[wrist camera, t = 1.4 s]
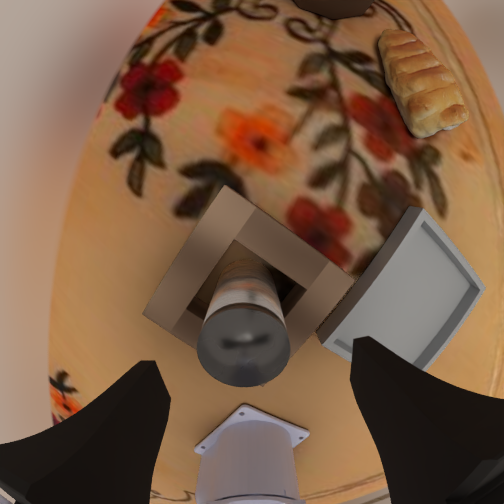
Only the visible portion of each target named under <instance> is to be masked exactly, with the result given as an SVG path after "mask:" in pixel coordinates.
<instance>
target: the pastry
mask: <svg viewBox="0 0 504 504" xmlns="http://www.w3.org/2000/svg"><path fill="white" fill-rule="evenodd" d="M378 47H379V51H380V54H381V57H382V61H383V66H384V70H385V81H386V84H387V85H388V86H389V87H390V89H391V92H392V95H393V97H394V99H395V101H396V104H397V107H398V109H399V111H400V113H401V116H402V118H403V120H404V122H405V124H406V125H407V127H408V129H409V131H410V132H411V133H412V134H413V136H415V137H417V138H424V137H428V136H431V135H434V134H435V133H436V132H437V131H440V130H442V129H444V130H451V129H452V128H455V127H457V126H459V125H460V124H461V123H463V122H465V121H467V120H468V118H469V112H468V110H467V109H466V108H465V105H464V102H463V99H462V96H461V93H460V90H459V88H458V86H457V85H456V83H455V80H454V77H453V75H452V73H451V72H450V71H449V70H448V69H447V68H446V67H445V66H444V65H443V64H442V63H441V62H440V61H439V60H438V59H437V58H436V57H435V56H434V55H433V53H432V51H431V50H430V49H429V48H428V47H427V46H426V45H424V43H423V42H422V41H420V40H419V39H418V38H416V37H415V36H414V35H413V34H411V33H409V32H406V31H401V30H391V29H386V30H384V31H383V32H382V35H381V37H380V39H379V42H378Z"/></svg>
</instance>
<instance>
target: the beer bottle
mask: <svg viewBox="0 0 504 504" xmlns="http://www.w3.org/2000/svg"><path fill="white" fill-rule="evenodd" d="M294 1H295V3H296V4H297V5H298V6H299V8H302V9H305V10H308V11H311V12H314V13H316V14H319V15H322V16H325V17H327V18H330V19H332V20H333V19H339V18H345V17H352V16H359V15H363V14H364V12H365V11H366V10H367V9H368V8H369V7H370V6H371V4H372V3H373V1H374V0H294Z"/></svg>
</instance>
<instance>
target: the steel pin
mask: <svg viewBox="0 0 504 504" xmlns="http://www.w3.org/2000/svg"><path fill="white" fill-rule="evenodd" d="M290 350H291V349H290V341H289V337H288V333H287V329H286V325H285V321H284V317H283V313H282V310H281V306H280V302H279V298H278V294H277V290H276V286H275V282H274V279H273V276H272V274H271V272H270V271H269V270H268V268H267V267H266V266H264V265H263V264H261V263H260V262H257V261H254V260H249V259H243V260H238V261H235V262H233V263H231V264H229V265H228V266H227V267H226V268H225V269H224V270H223V271H222V273H221V275H220V277H219V280H218V283H217V285H216V288H215V291H214V294H213V297H212V300H211V302H210V305H209V308H208V311H207V314H206V317H205V320H204V323H203V326H202V329H201V331H200V334H199V337H198V341H197V354H198V358H199V360H200V363H201V364H202V366H203V368H204V369H205V370H206V371H207V372H208V373H209V374H210V375H211V376H212V377H213V378H215V379H217V380H218V381H220V382H222V383H225V384H228V385H231V386H236V387H253V386H258V385H261V384H264V383H267V382H269V381H270V380H272V379H274V378H275V377H277V376H278V375H279V374H280V373H281V372H282V371H283V369H284V368H285V366H286V365H287V363H288V360H289V357H290Z"/></svg>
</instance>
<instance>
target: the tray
mask: <svg viewBox="0 0 504 504" xmlns="http://www.w3.org/2000/svg"><path fill="white" fill-rule="evenodd" d="M485 289H486V287H485V286H484V284H483V283H482V281H481V280H480V278H479V277H478V275H477V274H476V273H475V271H474V270H473V268H472V267H471V266H470V264H469V263H468V262H467V260H466V259H465V258H464V256H463V255H462V254H461V252H460V251H459V250H458V248H457V247H456V246H455V245H454V243H453V242H452V241H451V240H450V238H449V237H448V236H447V235H446V234H445V232H444V231H443V230H442V229H441V228H440V226H439V225H438V224H437V223H436V222H435V221H434V220H433V218H432V217H431V216H430V215H429V214H428V213H427V212H426V211H425V210H424V208H418V207H411V206H409V207H408V209H407V210H406V212H405V214H404V215H403V217H402V218H401V220H400V221H399V223H398V224H397V226H396V227H395V229H394V230H393V232H392V233H391V235H390V236H389V238H388V239H387V241H386V242H385V244H384V245H383V247H382V248H381V249H380V251H379V252H378V254H377V255H376V256H375V258H374V259H373V261H372V262H371V263H370V265H369V266H368V267H367V269H366V270H365V272H364V273H363V274H362V276H361V277H360V278H359V280H358V281H357V282H356V283H355V285H354V286H353V287H352V289H351V290H350V291H349V293H348V294H347V295H346V296H345V298H344V299H343V300H342V301H341V303H340V304H339V305H338V306H337V308H336V309H335V310H334V311H333V313H332V314H331V315H330V316H329V317H328V319H327V320H326V321H325V322H324V323H323V325H322V326H321V327H320V328H319V329H318V330H317V332H316V333H317V335H318V338H319V340H320V342H321V344H322V346H324V347H326V348H327V349H329V350H331V351H332V352H334V353H336V354H337V355H339V356H341V357H342V358H344V359H346V360H348V361H349V362H352V349H353V339H355V338H360V337H364V336H370V337H372V338H373V339H375V340H376V341H378V342H379V343H381V344H382V345H384V346H385V347H387V348H388V349H389V350H391V351H392V352H394V353H395V354H397V355H398V356H400V357H401V358H403V359H405V360H406V361H408V362H409V363H411V364H413V365H414V366H416V367H418V368H419V369H421V370H423V371H425V372H426V370H427V369H428V368H429V367H430V366H431V365H432V363H433V362H434V361H435V360H436V359H437V357H438V356H439V355H440V354H441V352H442V351H443V350H444V349H445V347H446V346H447V345H448V344H449V342H450V341H451V340H452V338H453V337H454V336H455V334H456V333H457V331H458V330H459V329H460V327H461V326H462V324H463V323H464V322H465V320H466V319H467V317H468V316H469V314H470V313H471V311H472V310H473V308H474V307H475V305H476V303H477V302H478V300H479V299H480V297H481V295H482V294H483V292H484V290H485Z"/></svg>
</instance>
